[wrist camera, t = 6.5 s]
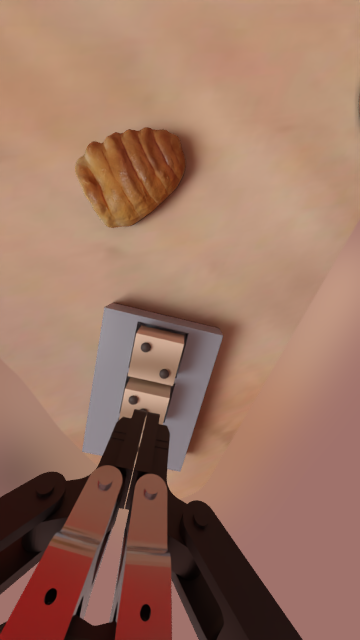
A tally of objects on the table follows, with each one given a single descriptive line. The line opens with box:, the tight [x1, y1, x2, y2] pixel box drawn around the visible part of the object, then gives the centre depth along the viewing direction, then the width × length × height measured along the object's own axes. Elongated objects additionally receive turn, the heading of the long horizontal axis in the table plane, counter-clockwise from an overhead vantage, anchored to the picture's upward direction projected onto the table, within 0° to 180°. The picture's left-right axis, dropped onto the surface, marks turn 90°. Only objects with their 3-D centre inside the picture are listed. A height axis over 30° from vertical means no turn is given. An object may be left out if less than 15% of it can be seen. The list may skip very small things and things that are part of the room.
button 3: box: [119, 377, 171, 431], centre depth 23 cm, size 4×4×3 cm
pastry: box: [75, 128, 186, 228], centre depth 19 cm, size 9×7×4 cm
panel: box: [82, 303, 223, 471], centre depth 25 cm, size 18×12×2 cm, turn 166°
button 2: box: [128, 325, 184, 386], centre depth 21 cm, size 4×4×3 cm
